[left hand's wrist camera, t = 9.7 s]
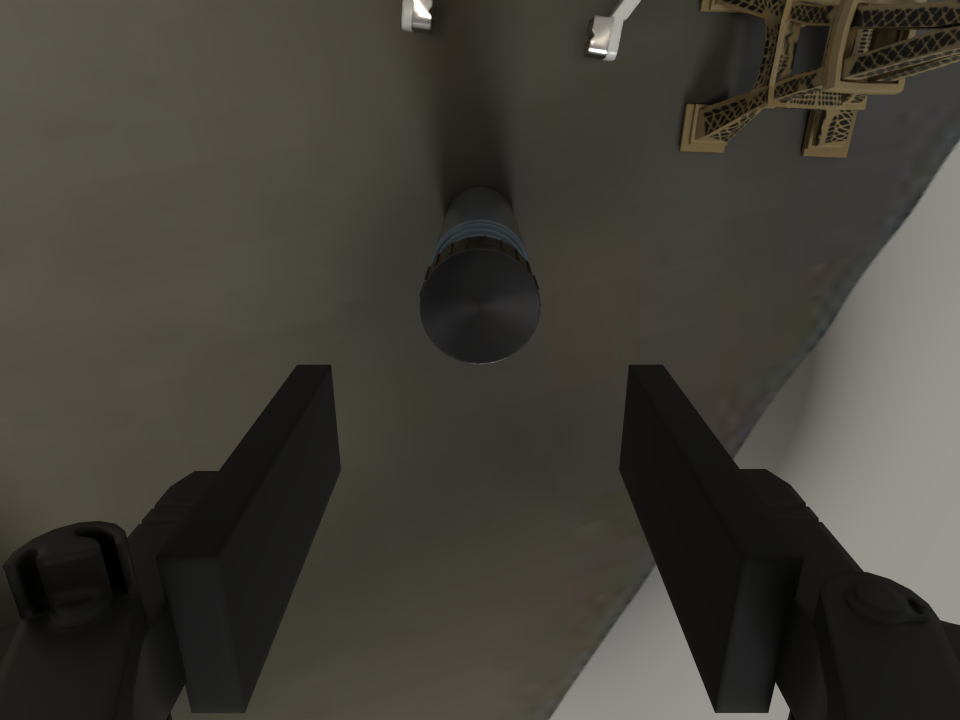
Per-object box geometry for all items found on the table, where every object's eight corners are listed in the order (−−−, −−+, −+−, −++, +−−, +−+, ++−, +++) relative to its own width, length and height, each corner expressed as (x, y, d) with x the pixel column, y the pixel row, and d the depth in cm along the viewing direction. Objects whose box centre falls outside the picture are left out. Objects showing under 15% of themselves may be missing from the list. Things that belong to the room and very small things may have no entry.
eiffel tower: (707, -43, 36) (1135, -345, 12) (889, -35, 36) (1652, -319, 12) (678, 150, 39) (964, 198, 16) (843, 157, 40) (1360, 214, 16)
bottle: (523, 241, 42) (557, 339, 23) (460, 265, 42) (445, 378, 24) (500, 176, 40) (517, 225, 22) (435, 201, 41) (398, 270, 22)
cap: (550, 321, 25) (558, 342, 23) (448, 358, 26) (445, 381, 24) (514, 217, 24) (517, 228, 22) (406, 258, 24) (398, 273, 22)
